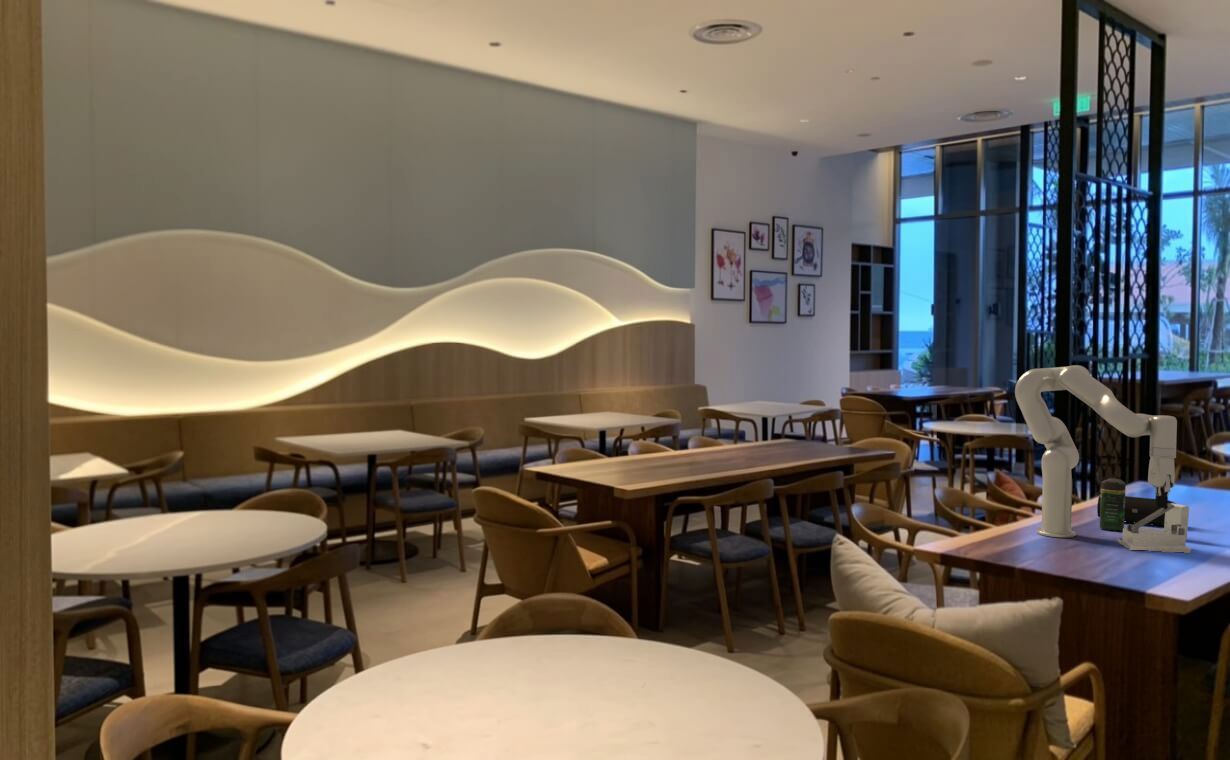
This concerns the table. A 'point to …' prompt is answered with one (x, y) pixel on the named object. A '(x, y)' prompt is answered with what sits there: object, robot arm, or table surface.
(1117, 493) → the coffee jar
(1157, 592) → the table surface
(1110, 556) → the table surface
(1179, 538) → the block
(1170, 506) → the strap
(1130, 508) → the portable speaker
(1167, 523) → the skincare box
